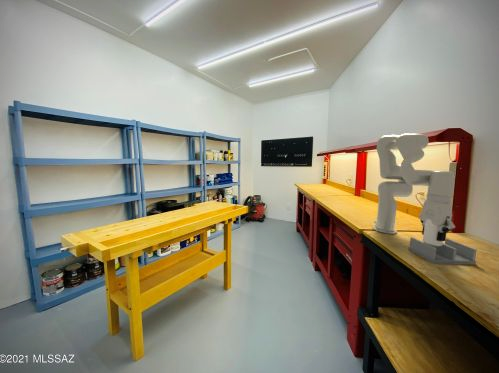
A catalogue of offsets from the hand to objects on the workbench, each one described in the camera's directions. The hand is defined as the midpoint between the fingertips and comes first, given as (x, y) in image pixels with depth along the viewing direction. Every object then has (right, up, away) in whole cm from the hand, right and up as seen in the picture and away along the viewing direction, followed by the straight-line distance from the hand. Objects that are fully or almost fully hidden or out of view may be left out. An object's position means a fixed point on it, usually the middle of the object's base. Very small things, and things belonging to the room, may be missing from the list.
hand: (433, 237), depth 85 cm
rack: (+4, -9, +1) cm, 10 cm away
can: (0, -3, 0) cm, 3 cm away
